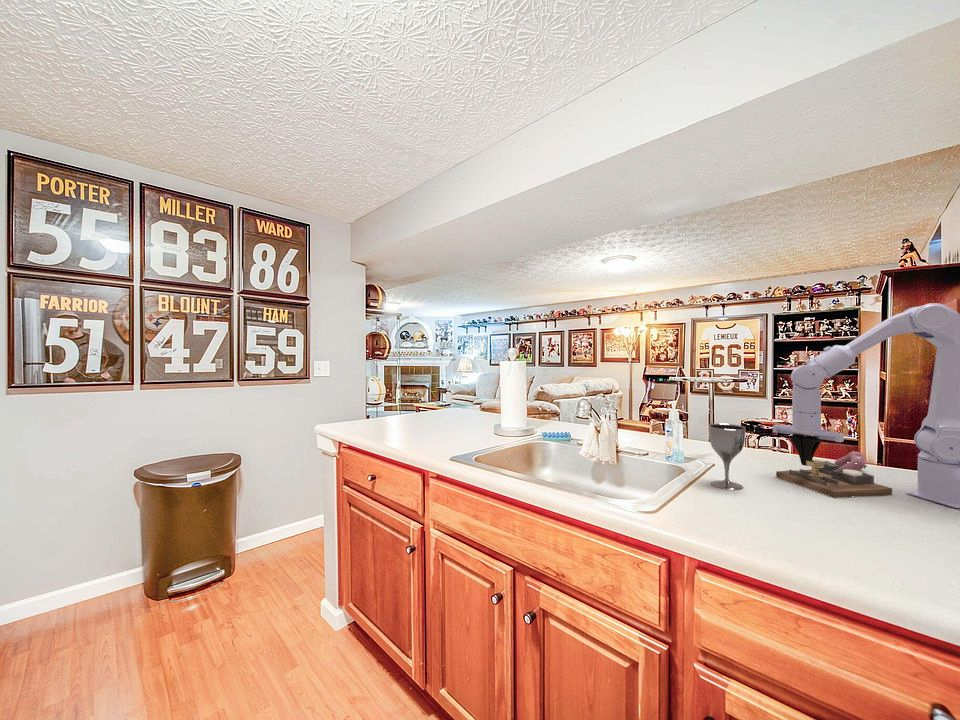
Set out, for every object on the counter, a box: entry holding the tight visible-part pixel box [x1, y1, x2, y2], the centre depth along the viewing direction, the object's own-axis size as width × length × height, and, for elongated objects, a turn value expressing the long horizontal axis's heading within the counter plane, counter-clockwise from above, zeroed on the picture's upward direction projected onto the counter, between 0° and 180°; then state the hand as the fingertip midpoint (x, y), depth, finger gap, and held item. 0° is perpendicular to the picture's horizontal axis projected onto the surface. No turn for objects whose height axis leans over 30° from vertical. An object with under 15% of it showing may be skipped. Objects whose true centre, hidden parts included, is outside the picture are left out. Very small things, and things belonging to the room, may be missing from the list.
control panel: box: [775, 467, 893, 499], centre depth 102 cm, size 16×15×4 cm
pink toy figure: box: [834, 450, 868, 472], centre depth 112 cm, size 10×5×7 cm, turn 144°
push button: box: [843, 469, 862, 476], centre depth 100 cm, size 4×4×2 cm
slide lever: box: [806, 459, 824, 480], centre depth 102 cm, size 2×3×4 cm
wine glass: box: [708, 423, 746, 491], centre depth 103 cm, size 8×8×15 cm
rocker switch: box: [823, 460, 839, 470], centre depth 107 cm, size 3×2×1 cm
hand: (806, 464), depth 104 cm, fingers closed
